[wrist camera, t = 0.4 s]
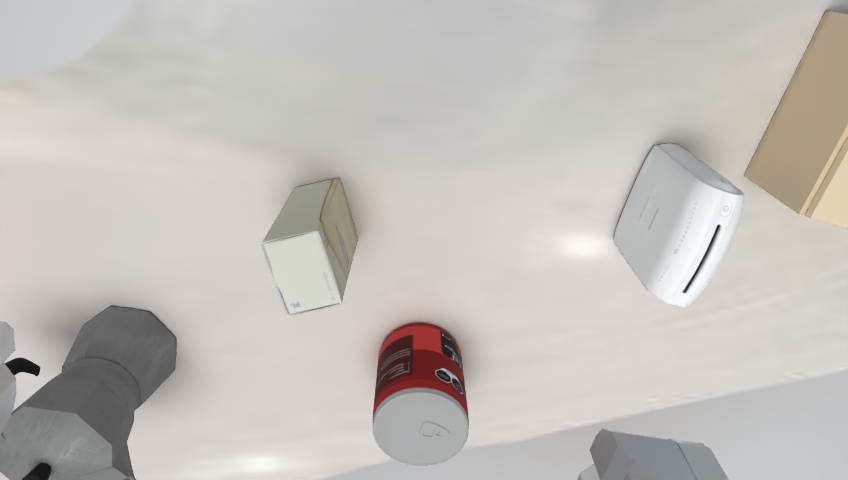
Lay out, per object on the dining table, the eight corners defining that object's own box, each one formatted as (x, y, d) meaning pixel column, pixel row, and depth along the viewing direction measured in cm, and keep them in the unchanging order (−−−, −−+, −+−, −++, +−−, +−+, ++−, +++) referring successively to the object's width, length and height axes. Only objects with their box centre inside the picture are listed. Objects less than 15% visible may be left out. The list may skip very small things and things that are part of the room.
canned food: (459, 388, 66) (466, 467, 56) (378, 386, 66) (372, 466, 56) (463, 321, 63) (472, 393, 53) (378, 319, 63) (371, 391, 53)
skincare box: (359, 239, 59) (345, 307, 48) (311, 250, 60) (287, 320, 49) (338, 174, 57) (320, 229, 46) (289, 185, 57) (258, 243, 46)
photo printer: (651, 135, 56) (711, 183, 44) (698, 148, 56) (769, 200, 45) (604, 242, 60) (648, 312, 48) (648, 254, 60) (702, 325, 49)
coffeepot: (215, 342, 63) (145, 481, 47) (174, 409, 67) (95, 562, 50) (59, 264, 60) (-75, 384, 43) (24, 339, 63) (-115, 478, 47)
